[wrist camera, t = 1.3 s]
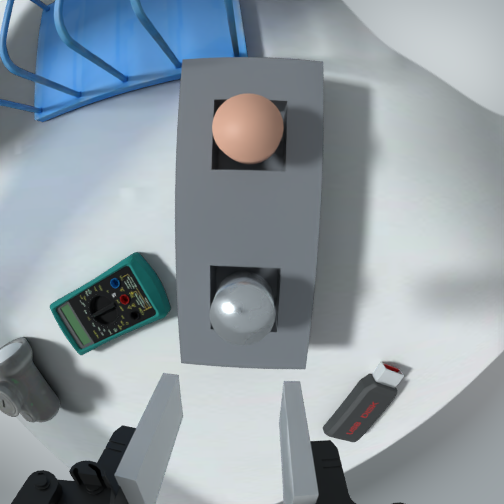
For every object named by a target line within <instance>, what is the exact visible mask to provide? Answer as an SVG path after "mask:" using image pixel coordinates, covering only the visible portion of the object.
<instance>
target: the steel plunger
mask: <svg viewBox="0 0 504 504" xmlns="http://www.w3.org/2000/svg"><path fill="white" fill-rule="evenodd" d="M210 321H211V324H212V327H213V328H214V330H215V331H216V333H217V334H218V335H219V336H220V337H221V338H223V339H224V340H226V341H228V342H230V343H233V344H237V345H249V344H253V343H256V342H258V341H260V340H262V339H263V338H265V337H266V336H267V335H268V334H269V332H270V331H271V329H272V327H273V325H274V321H275V310H274V299H273V292H272V289H271V287H270V285H269V283H268V282H267V281H266V280H265V279H264V278H263V277H262V276H260V275H258V274H256V273H254V272H250V271H239V272H235V273H232V274H230V275H229V276H227V277H226V278H225V279H224V280H223V281H222V282H221V284H220V285H219V287H218V290H217V292H216V295H215V297H214V300H213V302H212V305H211V308H210Z"/></svg>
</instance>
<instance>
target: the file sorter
mask: <svg viewBox="0 0 504 504" xmlns="http://www.w3.org/2000/svg"><path fill="white" fill-rule="evenodd" d="M31 1H32V2H34V3H35V4H37V5H38V6H39V7H41V8H42V9H43V12H42V18H41V24H40V31H39V39H38V47H37V58H36V72H35V74H33V73H30V72H28V71H26V70H23V69H21V68H19V67H18V66H16V65H15V64H14V63H13V62H12V61H11V59H10V58H9V55H8V52H7V47H6V39H7V32H8V27H9V21H10V17H11V12H12V7H13V3H14V0H8V1H7V5H6V9H5V13H4V18H3V23H2V27H1V33H0V56H1V59H2V62H3V64H4V65H5V67H6V68H7V69H8V70H9V71H10V72H11V73H13V74H15V75H17V76H20V77H22V78H25V79H28V80H31V81H34V82H35V101H34V107H33V106H29V105H25V104H20V103H16V102H11V101H7V100H2V99H0V105H1V106H6V107H11V108H15V109H20V110H25V111H29V112H34V118H35V120H37V121H41V122H44V121H47V120H49V119H51V118H54V117H56V116H58V115H61V114H64V113H66V112H69V111H71V110H74V109H77V108H79V107H82V106H85V105H88V104H91V103H94V102H97V101H100V100H103V99H106V98H109V97H112V96H115V95H119V94H122V93H125V92H129V91H132V90H136V89H140V88H144V87H147V86H151V85H155V84H160V83H164V82H168V81H173V80H177V79H181V71H182V60H183V59H196V58H218V57H248V55H247V48H246V41H245V35H244V28H243V22H242V16H241V9H240V3H239V0H55V2H53V3H51V4H49V5H45V4H44V3H42V2H41V1H40V0H31Z"/></svg>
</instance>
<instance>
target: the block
mask: <svg viewBox="0 0 504 504" xmlns="http://www.w3.org/2000/svg"><path fill="white" fill-rule="evenodd" d="M247 93H250V94H257V95H260V96H263V97H265V98H267V99H268V100H270V101H271V102H272V103H273V104H274V105H275V106H276V107H277V108H278V110H279V111H280V113H281V116H282V119H283V127H284V128H283V135H282V138H281V141H280V143H279V145H278V147H277V149H276V151H275V152H274V154H273V155H272V156H271V157H269V158H268V159H267V160H265V161H263V162H261V163H257V164H242V163H239V162H236V161H234V160H233V159H231V158H230V157H229V156H228V155H226V154H225V153H224V152H223V151H222V150H221V149H220V148H219V147H218V145H217V144H216V142H215V140H214V136H213V132H212V123H213V119H214V116H215V113H216V112H217V110H218V108H219V107H220V106H221V105H222V104H223V103H224V102H225V101H226V100H228V99H230V98H231V97H234V96H236V95H239V94H247ZM323 105H324V100H323V62H320V61H310V60H299V59H284V58H262V57H218V58H196V59H183V60H182V71H181V82H180V95H179V110H178V127H177V149H176V184H175V249H176V284H177V307H178V325H179V340H180V353H181V363H186V364H196V365H208V366H222V367H239V368H262V369H305V368H306V361H307V353H308V345H309V337H310V328H311V319H312V310H313V300H314V290H315V279H316V267H317V255H318V241H319V226H320V209H321V189H322V164H323ZM239 271H250V272H254V273H256V274H258V275H260V276H262V277H263V278H264V279H265V280H266V281H267V282H268V283H269V285H270V287H271V289H272V292H273V299H274V310H275V321H274V325H273V327H272V329H271V331H270V332H269V334H268V335H267V336H266V337H265V338H263V339H262V340H260V341H258V342H256V343H253V344H249V345H237V344H233V343H230V342H228V341H226V340H224V339H223V338H221V337H220V336H219V335H218V334H217V333H216V331H215V330H214V328H213V327H212V324H211V321H210V308H211V305H212V302H213V300H214V297H215V295H216V292H217V290H218V287H219V285H220V284H221V282H222V281H223V280H224V279H225V278H226V277H227V276H229V275H230V274H232V273H235V272H239Z"/></svg>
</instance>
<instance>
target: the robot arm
mask: <svg viewBox="0 0 504 504" xmlns="http://www.w3.org/2000/svg"><path fill="white" fill-rule="evenodd" d="M182 418H183V411H182V403H181V394H180V385H179V375H175V374H167V373H163V375H162V377H161V379H160V381H159V383H158V385H157V387H156V389H155V391H154V393H153V395H152V397H151V399H150V401H149V403H148V405H147V407H146V409H145V411H144V413H143V416H142V418H141V420H140V422H139V424H138V426H137V428H132V427H127V426H123V425H122V426H121V427H120V428H118V429H117V430H116V431H115V432H114V433H113V435H112V436H111V438H110V440H109V442H108V444H107V446H106V449H104V451H103V453H102V455H101V457H100V459H99V460H98V462H97V463H96V462H92V461H81V462H78V463H76V464H75V465H73V466H72V467H71V469H70V471H69V472H70V474H71V476H72V477H73V479H74V481H67V480H57V479H56V478H55V476H54V475H53V474H52V473H50V472H48V471H44V470H43V471H36V472H34V473H32V474H31V475H30V476H29V477H28V479H27V480H26V482H25V483H24V485H23V487H22V488H21V490H20V491H19V492H18V494H17V496H16V497H15V499H14V500H13V502H12V503H11V504H156V500H157V497H158V494H159V491H160V488H161V484H162V481H163V478H164V475H165V472H166V468H167V465H168V462H169V459H170V456H171V452H172V449H173V446H174V443H175V440H176V437H177V434H178V431H179V427H180V424H181V421H182ZM279 428H280V445H281V463H282V482H283V502H284V504H356V503H354V502H353V501H352V500H351V498H350V496H349V494H348V489H347V485H346V481H345V477H344V473H343V469H342V465H341V461H340V457H339V453H338V449H337V447H336V446H335V445H334V444H333V443H332V442H331V440H327V441H310V437H309V431H308V425H307V419H306V413H305V407H304V402H303V396H302V390H301V384H300V381H284V383H283V393H282V402H281V411H280V420H279ZM393 504H404V503H393Z"/></svg>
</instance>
